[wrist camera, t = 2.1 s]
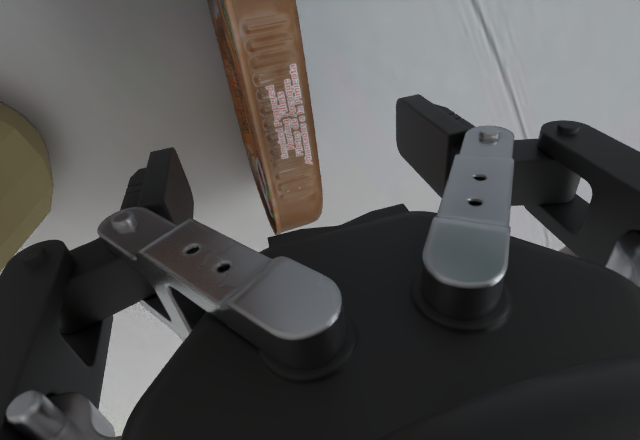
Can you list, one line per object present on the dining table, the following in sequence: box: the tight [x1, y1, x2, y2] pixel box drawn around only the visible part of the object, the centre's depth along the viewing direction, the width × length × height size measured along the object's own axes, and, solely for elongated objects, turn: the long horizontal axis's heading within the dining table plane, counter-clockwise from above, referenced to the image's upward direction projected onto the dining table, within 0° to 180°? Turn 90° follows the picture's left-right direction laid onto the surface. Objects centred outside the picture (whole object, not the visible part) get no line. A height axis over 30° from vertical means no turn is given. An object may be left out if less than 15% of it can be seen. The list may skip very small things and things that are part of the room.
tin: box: [207, 0, 323, 235], centre depth 19 cm, size 15×3×8 cm, turn 6°
